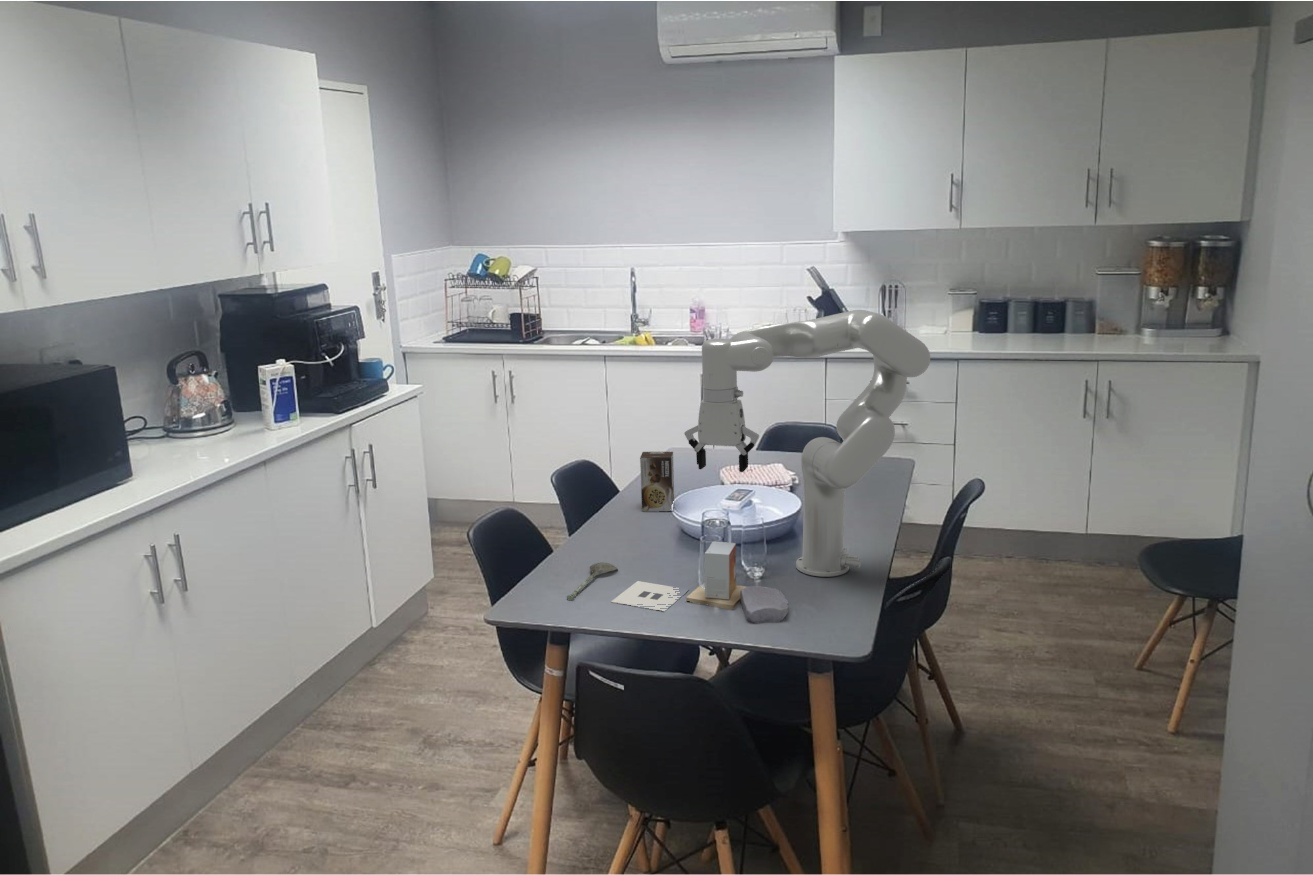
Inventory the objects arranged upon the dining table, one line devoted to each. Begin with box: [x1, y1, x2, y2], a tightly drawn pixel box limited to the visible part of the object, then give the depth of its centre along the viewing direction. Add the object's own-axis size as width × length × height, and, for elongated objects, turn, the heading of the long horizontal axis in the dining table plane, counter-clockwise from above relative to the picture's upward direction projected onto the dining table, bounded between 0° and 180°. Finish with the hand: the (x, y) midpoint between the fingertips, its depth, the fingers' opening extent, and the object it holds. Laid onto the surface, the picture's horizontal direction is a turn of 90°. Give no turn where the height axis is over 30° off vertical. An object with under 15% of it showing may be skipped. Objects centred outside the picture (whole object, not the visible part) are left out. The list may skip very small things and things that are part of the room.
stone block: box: [740, 585, 789, 624], centre depth 211 cm, size 12×5×10 cm
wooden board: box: [685, 584, 747, 611], centre depth 219 cm, size 11×11×1 cm
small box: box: [704, 540, 737, 599], centre depth 218 cm, size 8×6×10 cm
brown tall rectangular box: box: [639, 451, 675, 512], centre depth 280 cm, size 9×6×16 cm
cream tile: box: [610, 580, 682, 612], centre depth 220 cm, size 13×13×1 cm
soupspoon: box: [566, 561, 618, 601], centre depth 228 cm, size 22×3×7 cm
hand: (722, 469), depth 222 cm, fingers open, 9 cm apart
